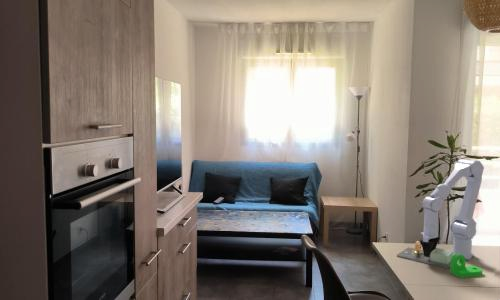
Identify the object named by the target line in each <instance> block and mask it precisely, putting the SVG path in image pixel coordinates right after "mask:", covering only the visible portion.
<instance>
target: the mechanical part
mask: <svg viewBox="0 0 500 300" xmlns="http://www.w3.org/2000/svg"><path fill="white" fill-rule="evenodd" d="M466 262H467V259H465V257H464V256H463V255H461V254H458V253H457V254H454V255H453V256H452V258H451V266H450V269H449V270H450V272H449V273H450V274H452V275H454V276H456V277H459V278H460V279H464V278H473V277H481V276H483V269H482V268H480V267H478V266H476V265H470V266H469V265H468V266H466Z"/></svg>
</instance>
